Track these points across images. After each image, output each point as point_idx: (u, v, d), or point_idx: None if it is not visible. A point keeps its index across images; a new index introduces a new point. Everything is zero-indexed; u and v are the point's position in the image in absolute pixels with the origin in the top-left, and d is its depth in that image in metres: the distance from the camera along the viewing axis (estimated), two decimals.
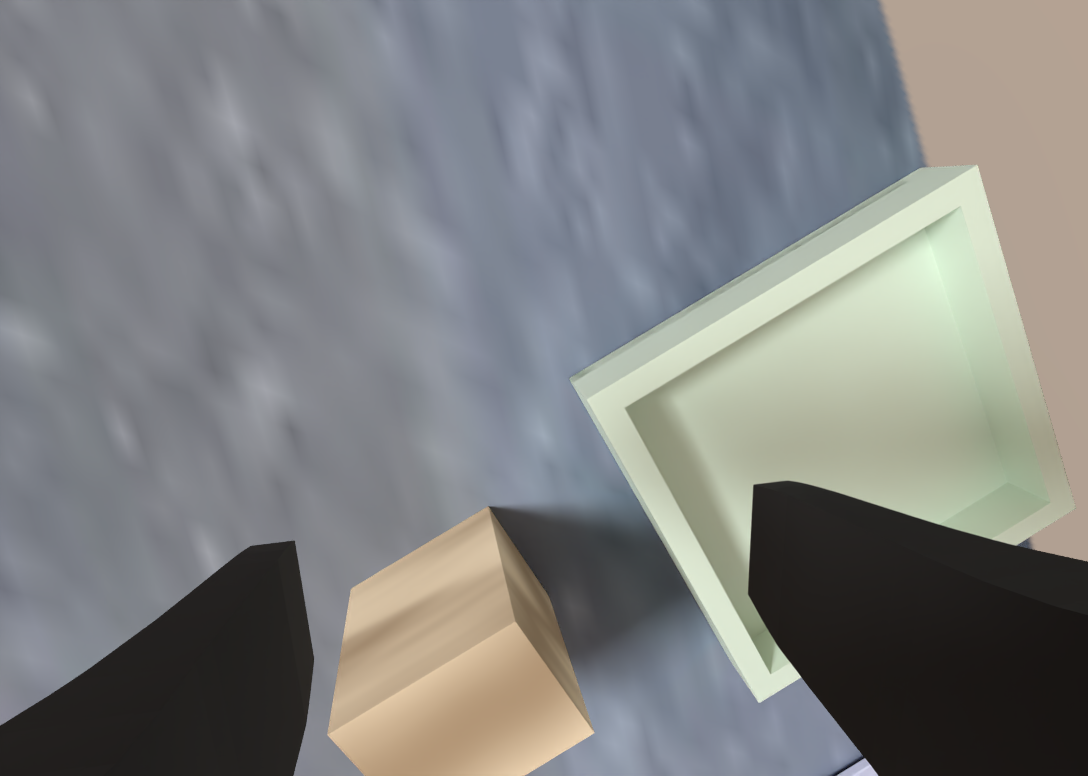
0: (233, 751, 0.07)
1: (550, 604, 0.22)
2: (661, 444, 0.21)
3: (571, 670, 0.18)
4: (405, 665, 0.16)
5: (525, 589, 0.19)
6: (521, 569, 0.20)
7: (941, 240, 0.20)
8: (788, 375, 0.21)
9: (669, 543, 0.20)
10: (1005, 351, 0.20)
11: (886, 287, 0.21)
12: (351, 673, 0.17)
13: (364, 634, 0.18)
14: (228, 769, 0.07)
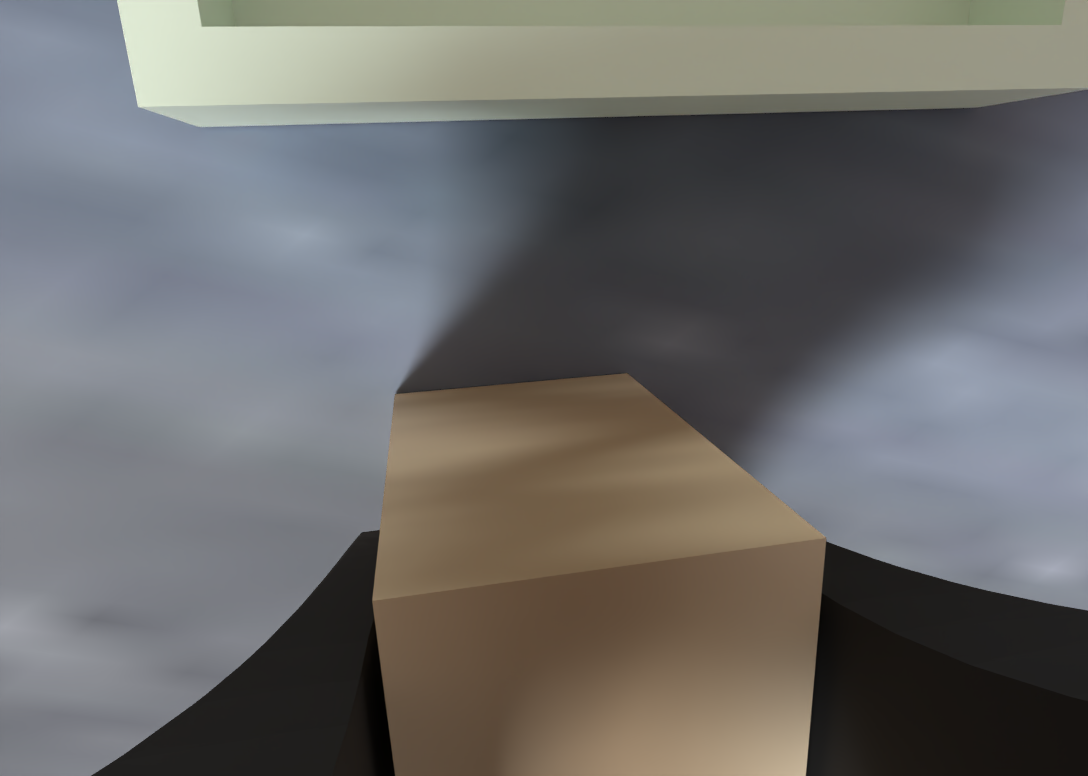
0: (387, 725, 0.07)
1: (630, 384, 0.11)
2: (424, 2, 0.09)
3: (706, 456, 0.08)
4: None
5: (508, 441, 0.09)
6: (506, 411, 0.10)
7: None
8: None
9: (605, 95, 0.08)
10: None
11: None
12: None
13: None
14: (385, 742, 0.07)
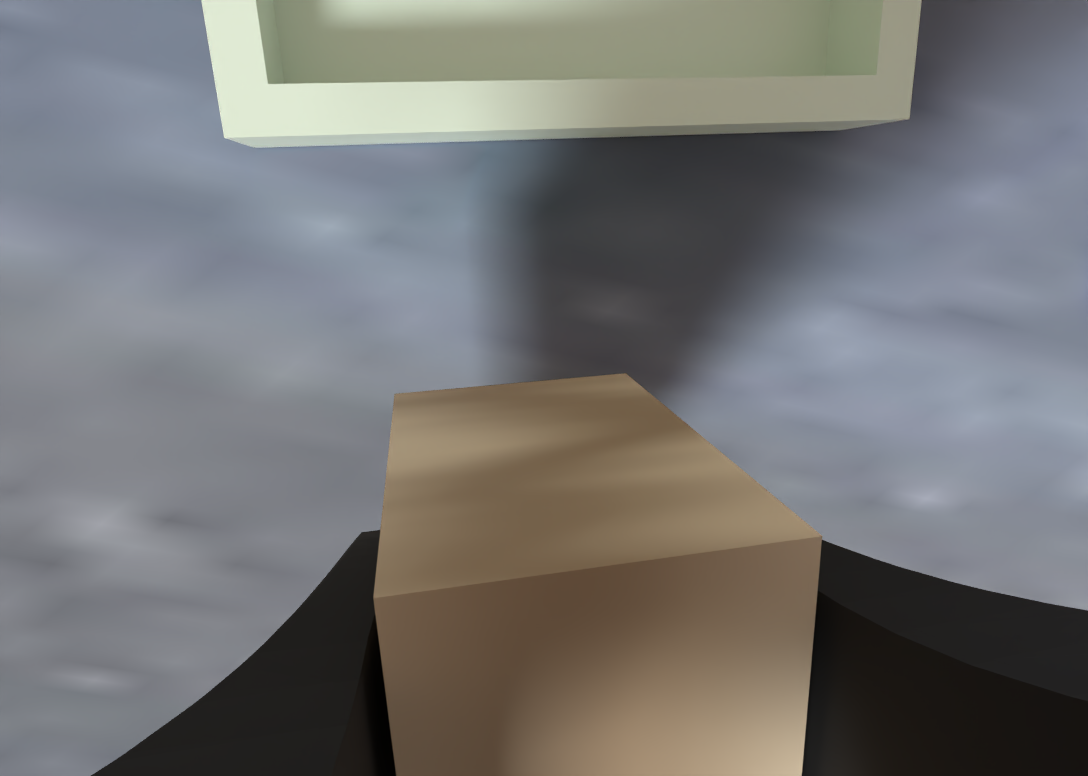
0: (386, 724, 0.07)
1: (628, 384, 0.11)
2: (418, 58, 0.13)
3: (703, 456, 0.08)
4: None
5: (507, 441, 0.09)
6: (505, 411, 0.10)
7: None
8: None
9: (545, 127, 0.12)
10: None
11: None
12: None
13: None
14: (385, 742, 0.07)
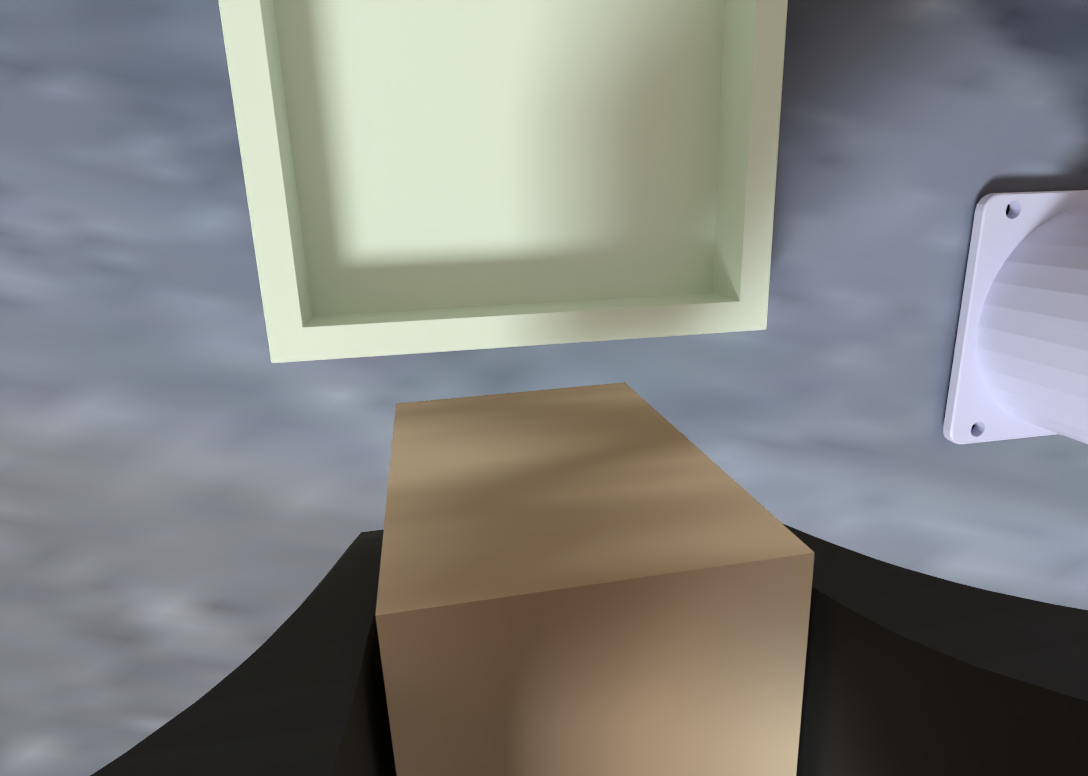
0: (385, 725, 0.07)
1: (627, 393, 0.11)
2: (408, 284, 0.17)
3: (700, 469, 0.08)
4: None
5: (507, 453, 0.09)
6: (505, 422, 0.10)
7: None
8: (402, 95, 0.16)
9: (497, 346, 0.17)
10: None
11: None
12: None
13: None
14: (384, 742, 0.07)
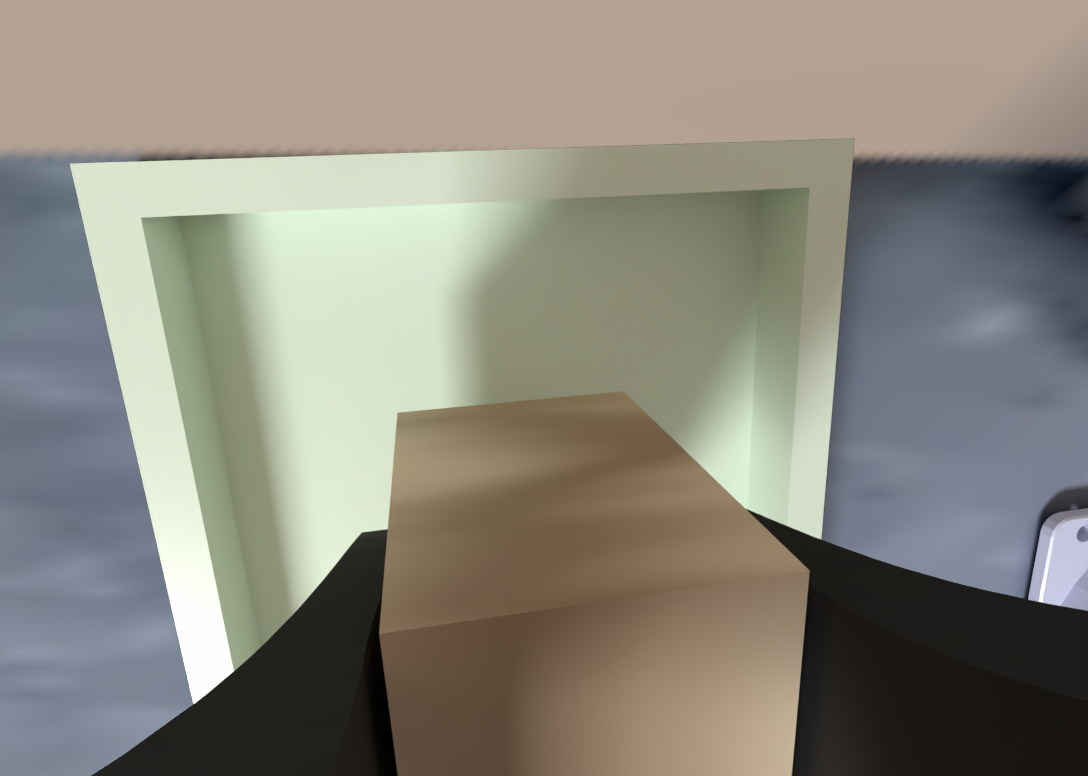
0: (386, 724, 0.07)
1: (626, 403, 0.11)
2: None
3: (698, 483, 0.08)
4: None
5: (507, 465, 0.09)
6: (505, 432, 0.10)
7: None
8: (375, 496, 0.14)
9: None
10: (469, 198, 0.11)
11: (302, 309, 0.12)
12: None
13: None
14: (385, 742, 0.07)
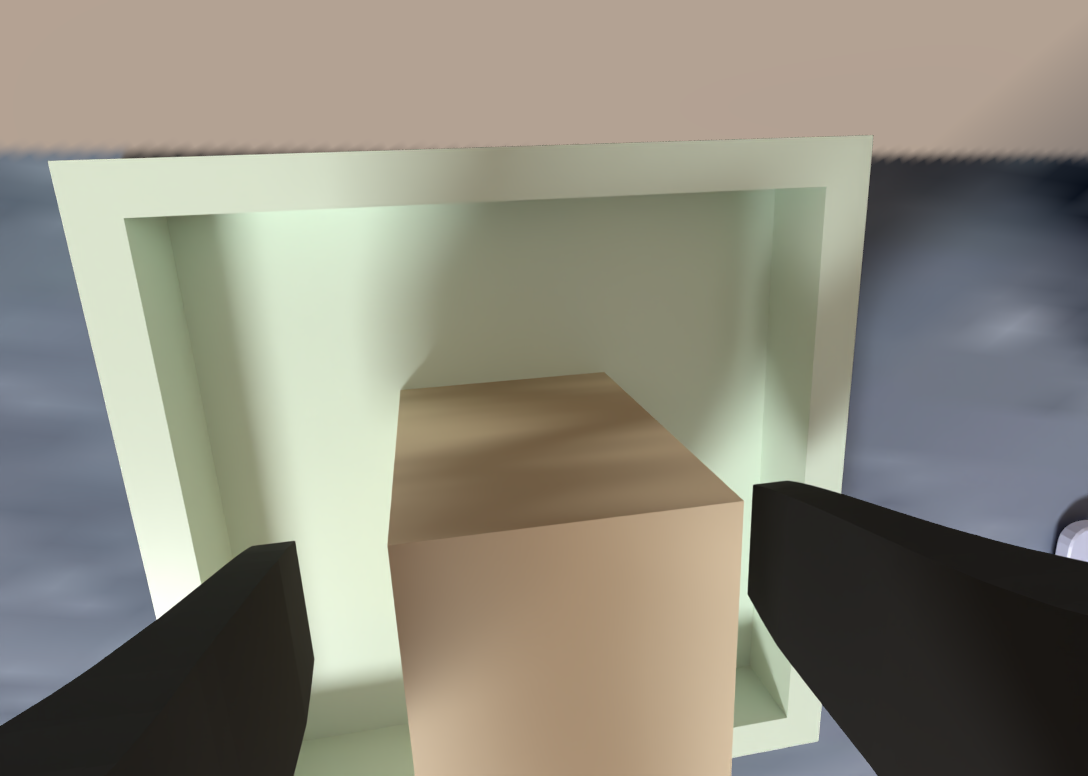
0: (233, 751, 0.07)
1: (605, 381, 0.13)
2: (385, 701, 0.14)
3: (660, 441, 0.10)
4: None
5: (497, 429, 0.10)
6: (496, 404, 0.11)
7: None
8: (372, 507, 0.13)
9: None
10: (470, 198, 0.10)
11: (296, 314, 0.12)
12: None
13: None
14: (229, 769, 0.07)
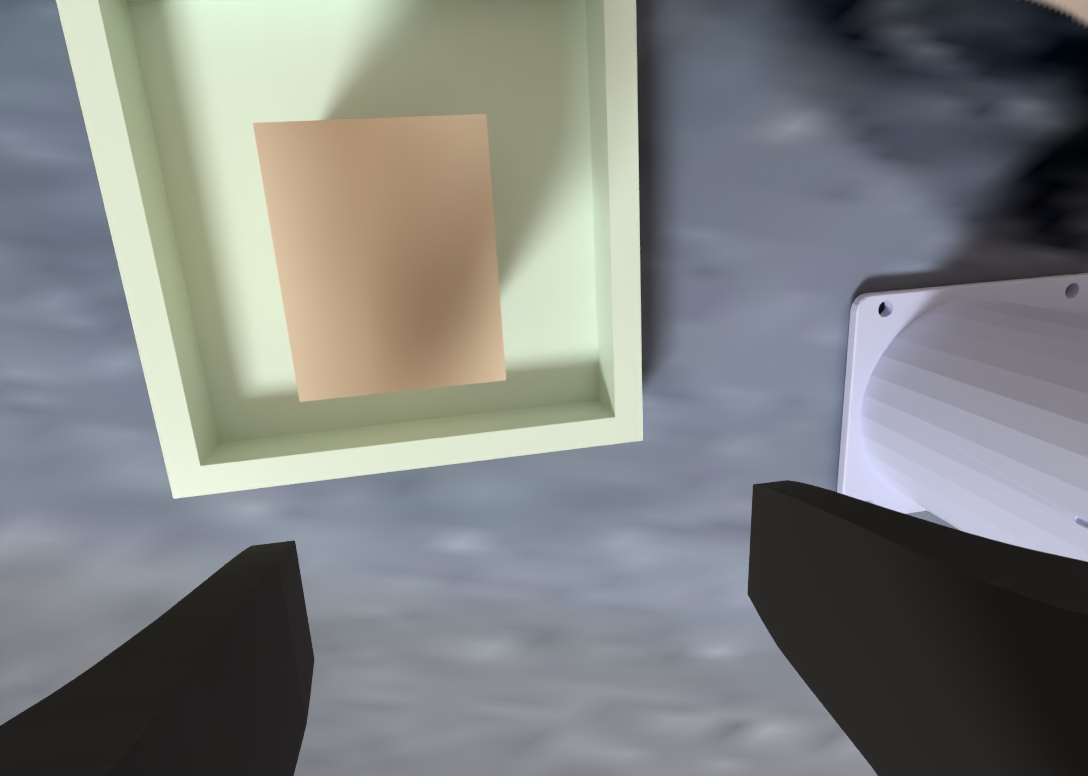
0: (233, 750, 0.07)
1: None
2: (307, 410, 0.19)
3: None
4: None
5: None
6: None
7: None
8: None
9: (386, 471, 0.18)
10: None
11: (224, 83, 0.16)
12: None
13: None
14: (228, 769, 0.07)
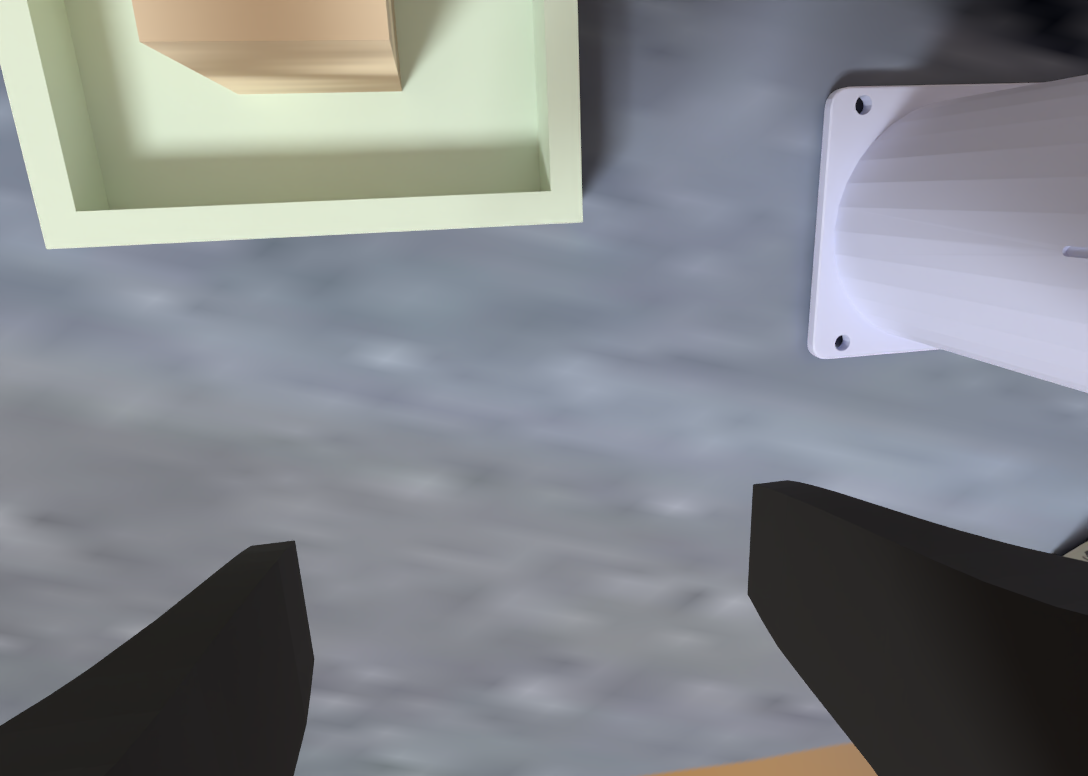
0: (233, 750, 0.07)
1: None
2: (209, 178, 0.17)
3: None
4: None
5: None
6: None
7: None
8: None
9: (289, 235, 0.16)
10: None
11: None
12: None
13: None
14: (228, 769, 0.07)
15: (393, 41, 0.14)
